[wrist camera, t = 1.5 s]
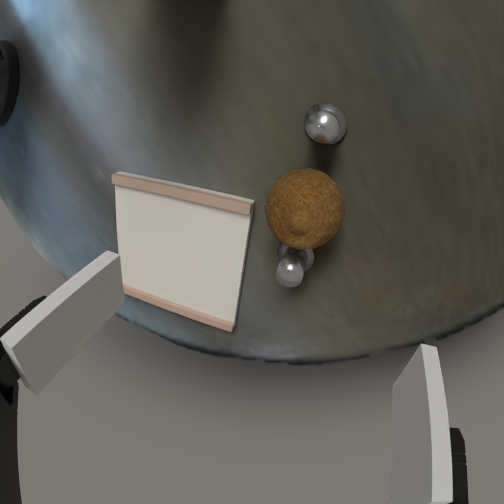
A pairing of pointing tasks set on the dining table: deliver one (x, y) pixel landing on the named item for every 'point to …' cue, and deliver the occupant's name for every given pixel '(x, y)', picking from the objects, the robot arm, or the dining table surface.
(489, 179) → the dining table surface
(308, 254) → the pins
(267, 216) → the fruit
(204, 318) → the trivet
